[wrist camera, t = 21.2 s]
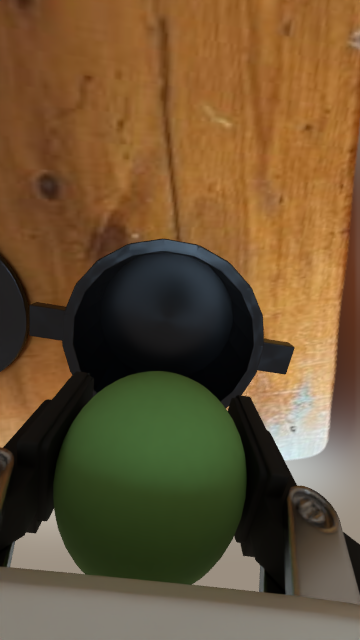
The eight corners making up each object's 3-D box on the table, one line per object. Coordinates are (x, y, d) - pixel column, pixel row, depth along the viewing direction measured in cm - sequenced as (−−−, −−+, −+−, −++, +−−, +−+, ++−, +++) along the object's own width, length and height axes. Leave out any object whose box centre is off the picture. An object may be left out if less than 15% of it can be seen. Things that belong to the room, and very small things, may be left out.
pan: (69, 223, 22) (22, 212, 15) (283, 262, 23) (327, 268, 16) (63, 368, 26) (23, 410, 19) (245, 394, 27) (268, 443, 20)
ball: (99, 334, 10) (-8, 449, 4) (240, 357, 10) (319, 491, 5) (89, 451, 12) (1, 648, 6) (211, 466, 12) (242, 668, 6)
